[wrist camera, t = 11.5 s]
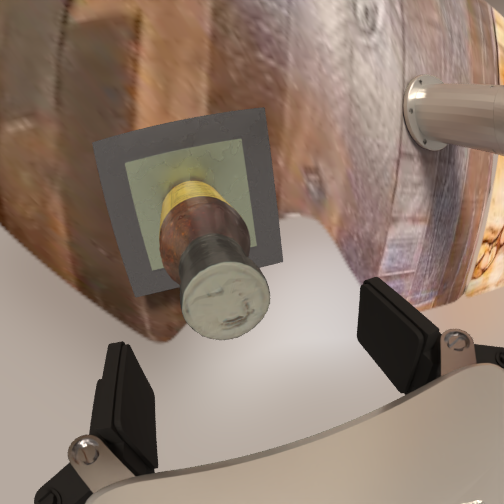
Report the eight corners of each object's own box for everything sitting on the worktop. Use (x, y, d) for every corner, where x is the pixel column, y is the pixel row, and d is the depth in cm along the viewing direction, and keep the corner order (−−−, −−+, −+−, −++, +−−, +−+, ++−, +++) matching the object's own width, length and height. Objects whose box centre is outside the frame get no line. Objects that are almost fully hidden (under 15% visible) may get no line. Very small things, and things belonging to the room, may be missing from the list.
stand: (254, 109, 33) (265, 107, 29) (272, 249, 40) (284, 263, 36) (100, 141, 30) (91, 142, 26) (137, 281, 37) (135, 299, 33)
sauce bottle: (213, 240, 33) (269, 370, 15) (156, 231, 31) (149, 363, 13) (228, 181, 31) (313, 258, 13) (168, 169, 29) (167, 233, 11)
